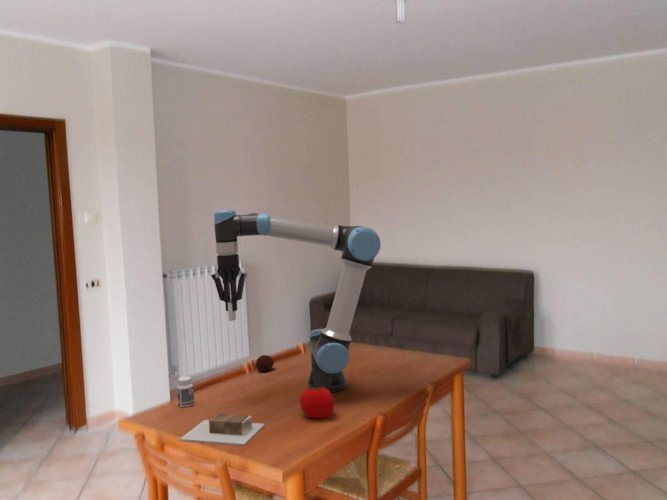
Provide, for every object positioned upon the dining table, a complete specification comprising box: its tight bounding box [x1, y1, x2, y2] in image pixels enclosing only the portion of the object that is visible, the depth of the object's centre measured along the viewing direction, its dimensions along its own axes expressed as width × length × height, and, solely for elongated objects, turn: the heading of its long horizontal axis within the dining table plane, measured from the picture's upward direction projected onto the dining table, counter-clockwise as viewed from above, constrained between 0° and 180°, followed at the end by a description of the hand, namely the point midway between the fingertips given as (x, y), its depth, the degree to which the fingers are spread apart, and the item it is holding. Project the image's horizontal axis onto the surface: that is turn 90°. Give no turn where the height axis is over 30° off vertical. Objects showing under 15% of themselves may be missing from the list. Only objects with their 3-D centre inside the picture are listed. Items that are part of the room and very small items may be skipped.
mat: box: [179, 419, 266, 447], centre depth 188 cm, size 22×16×1 cm
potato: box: [255, 354, 275, 372], centre depth 256 cm, size 7×8×7 cm
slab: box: [208, 413, 253, 435], centre depth 188 cm, size 4×6×12 cm
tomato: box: [299, 387, 335, 419], centre depth 199 cm, size 11×13×10 cm
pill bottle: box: [176, 376, 195, 408], centre depth 216 cm, size 6×6×10 cm
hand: (232, 320), depth 208 cm, fingers closed
